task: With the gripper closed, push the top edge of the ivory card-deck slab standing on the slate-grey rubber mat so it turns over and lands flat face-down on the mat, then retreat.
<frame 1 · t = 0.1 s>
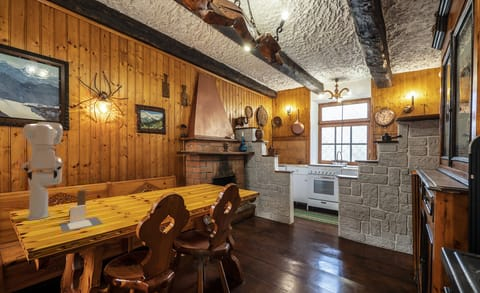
hand: (42, 178, 116), 31 cm above the table, fingers open, 9 cm apart
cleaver: (77, 215, 152), on the table
mat: (81, 224, 134), on the table
deck: (77, 221, 138), point 1 cm above the table, touching mat
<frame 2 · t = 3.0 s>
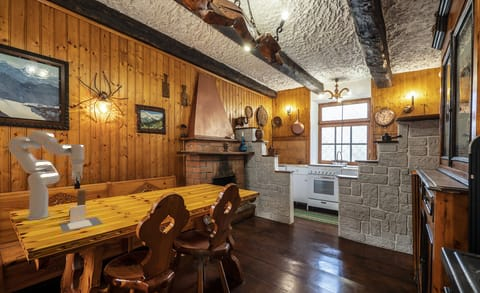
hand: (77, 188, 145), 21 cm above the table, fingers closed
nothing on the table moved.
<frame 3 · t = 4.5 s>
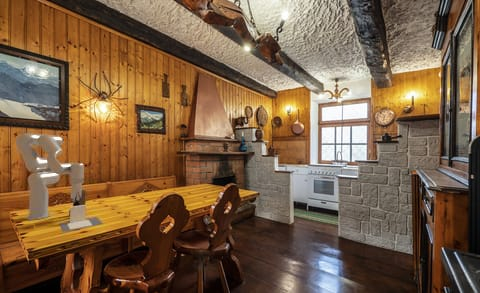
hand: (76, 207, 144), 8 cm above the table, fingers closed
nothing on the table moved.
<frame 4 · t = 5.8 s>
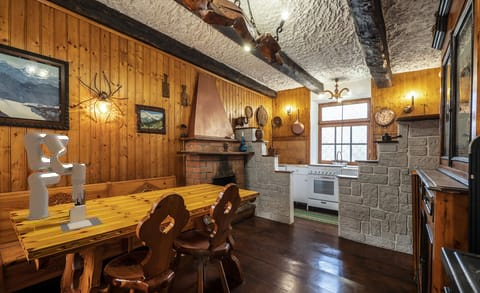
hand: (77, 209, 140), 8 cm above the table, fingers closed
deck: (77, 221, 138), point 1 cm above the table, tilted 5°, touching mat
everything else where it was.
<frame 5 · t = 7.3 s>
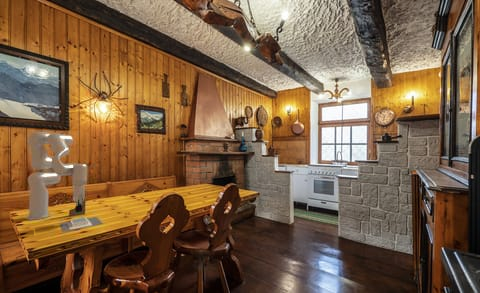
hand: (78, 211, 136), 8 cm above the table, fingers closed
deck: (78, 220, 137), point 2 cm above the table, tilted 90°, touching mat
everything else where it was.
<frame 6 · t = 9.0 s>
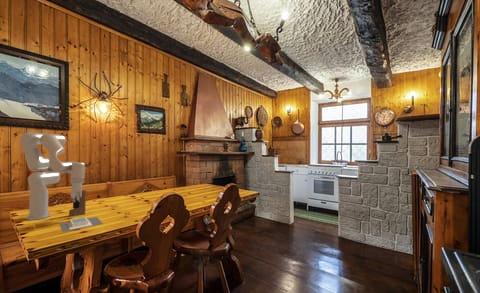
hand: (76, 207, 142), 8 cm above the table, fingers closed
nothing on the table moved.
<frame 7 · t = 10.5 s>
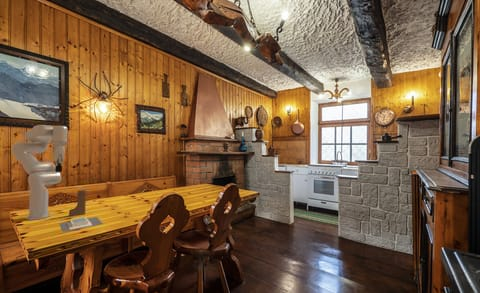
hand: (58, 171, 140), 33 cm above the table, fingers closed
nothing on the table moved.
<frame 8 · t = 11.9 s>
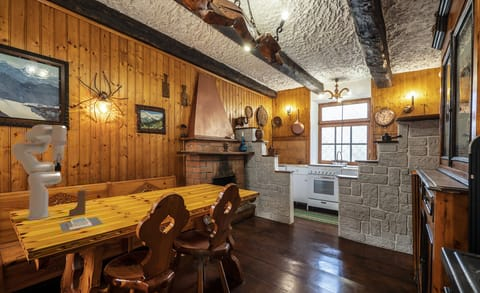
hand: (57, 171, 140), 33 cm above the table, fingers closed
nothing on the table moved.
at the end: deck tilted 90°; deck inside the target area (7.1 cm from its centre), point 1.6 cm above the table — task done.
